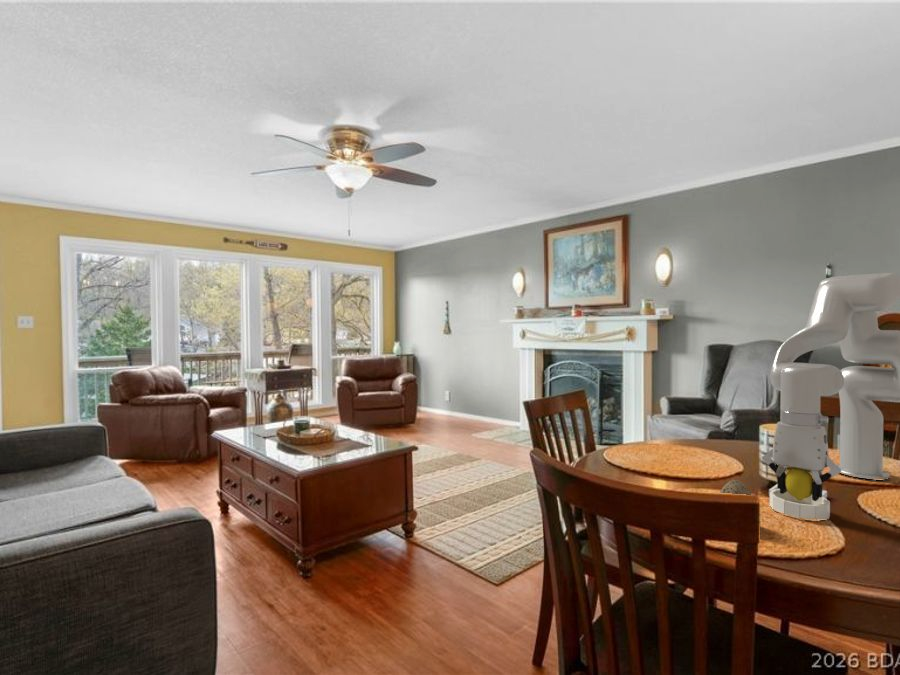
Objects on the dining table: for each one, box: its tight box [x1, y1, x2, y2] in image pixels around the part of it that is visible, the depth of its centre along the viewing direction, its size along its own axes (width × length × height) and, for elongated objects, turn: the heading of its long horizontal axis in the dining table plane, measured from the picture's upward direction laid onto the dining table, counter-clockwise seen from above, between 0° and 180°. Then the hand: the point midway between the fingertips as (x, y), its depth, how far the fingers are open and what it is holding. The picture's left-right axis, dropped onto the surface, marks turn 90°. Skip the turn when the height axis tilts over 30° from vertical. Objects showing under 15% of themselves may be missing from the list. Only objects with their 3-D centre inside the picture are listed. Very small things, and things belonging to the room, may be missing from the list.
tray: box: [768, 483, 828, 499], centre depth 121 cm, size 10×10×2 cm
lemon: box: [785, 467, 814, 501], centre depth 111 cm, size 6×6×8 cm
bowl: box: [769, 489, 831, 521], centre depth 111 cm, size 11×11×4 cm
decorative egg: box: [719, 479, 752, 495], centre depth 104 cm, size 7×7×10 cm
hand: (799, 495), depth 111 cm, fingers closed on lemon, 5 cm apart
